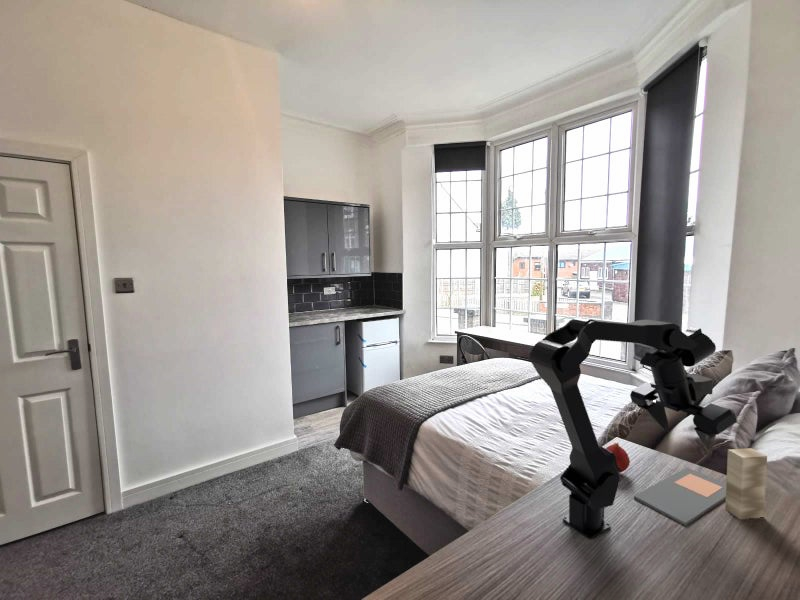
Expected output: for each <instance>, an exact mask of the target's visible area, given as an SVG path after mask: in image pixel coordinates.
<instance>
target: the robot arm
mask: <svg viewBox="0 0 800 600" xmlns="http://www.w3.org/2000/svg"><path fill="white" fill-rule="evenodd" d="M575 340H576V341H575ZM573 341H575V342H574V344H573V345H571V346H568V345H567V344H569V343H571V342H573ZM596 341H607V342H617V343H618V342H619V343H632V344H635V345H638V346H641V347H646V348H650V349H655V350H654V351H652V352H645V354H644V355H643V357H642V358H641V359H640V360H639V364H640V365H642V366H645V367H649V368H650V370H651V374H652V377H653V381H651V382H650V383H649V382H647V381H645V382H644V383H642V384H641V385H639V386H637V387H635V388H634V389H632V390H631V391H630V393H629V396H630V400H631V402H632V404H635V405H636V406H637V407H638V408H640V410H642V411H643V412H645V414H647V416H649V417H650V418H651V419H652V420H653V421H654V422H655V424H657V425H658V426H659V427H660V429H662V430H663V431H664V432H667V431H669V430H670V428H669V420H668V417H667V412H666V409H665V408H667V409H669V410H672V411H674V412H680V411H681V412H683V413H687V414H688V415H691V416H693V417H692V422H693V425H694V428H693V429H694V431H695V432H696V434H697V436H698V437H699V440H700V442H701V443H702V445H703V447H705V450H707V451H710V450H712V449H713V448H714V447H713V445H714V444H715V440H716V436H717V435H719V434H721V433H723V432H724V431H726V430H728V429H729V428H730V427H731V426H733V425H735V424H736V423H737V422H738V420H737V417H736V413H735V411H734V410H732V409H729V408H727V407H723V406H720V405H717V404H714V403H709V404H707V405H705V406H701V405H698V404H695V403H694V402H699V401H701V400H702V397H701V396H703V395H704V396H705V395H710V396H711V395H713V389H714V388H713V387H714V378H710V377H707V376H703V375H699V374H697V373H696V374H695V373H689V372H688V371H687V370H686V369H685V367H687V368H690V367H693V366H696V365H697V364H699V363H701V362H702V361H703V360H706V359H707V358H708V357H710V356H712V355H714V353H715V352H716V349H717V347H716V343H715V342H714V341H713V340H712V338H710V337H709V336H708V335H706V334H705V333H703V332H702V329H701V328H700V327H692V326H690V327H689V328H687V329H686V330H685V331H681V326H680V325H679V324H677V323H674V322H667V321H659V320H654V319H653V320H652V319H639V320H634V321H632V322H618V321H609V320H599V319H598V320H596V319H590V318H586V317H579V316H578V317H575V318H571V319H570V320H569V321H568V322H567V323H565V325H564V326H561V327H560V328H557V329H555V330H554V331H552V332H549V333H548V334H547V335H546V336H545V337H543V338H542V339H541V340H540V341H537V343H535V344H534V345H533V347H532V349H531V351H530V352H529V359H530V363H531V364H532V366H533V368H534V369H535V371H536V373H537V374H538V375H539V377H540V378H541V379H542V380H543V381H544V383H545V384H546V385H547V386H548V388H549V389H550V391H551V393H552V396H553V399H554V401H555V405H556V408H557V409H558V412H559V415H560V417H561V420H562V423H563V426H564V429H565V431H566V434H567V437H568V439H569V442H570V444H571V451H570V454H569V462H570V464H569V465H568V466H567V468H566V469H565V470H564V471H563V473H562V474H561V475H560V477H559V478H560V479H559V480H560V482H561V485H562V486H563V487H564V488H566V489H567V490H569V492H570V494H569V497H568V502H569V503H568V507H569V508H568V514H565V515H564V516H562V521H563V522H565V523H566V524H568V526H570V527H572V528H573V529H575V530H576V531H577V532H579V533H580V534H582V535H583V536H584V537H586V538H587V539H590V540H591V539H594V538H596V537H597V536H599V535H601V534H603V533H604V532H606V531H608V530H609V529H611V528H612V524H610V523H609V522H608V521H606V520H604V519H605V508H607V507H611V506H613V504H614V501H615V498H616V495H617V492H618V489H619V485H620V481H621V480H620V479H621V476H620V473H621V472H620V471H621V470H620V468H619V467H618V465H617V461H616V457H615V455H614V453H612V452H611V451H609V450H607V449H606V447H603V446H602V445H601V444H599V441H598V440H597V436H596V434H595V431H594V427H593V426H592V422H591V419H590V415H589V414H588V411H587V408H586V406H585V403H584V400H583V396H582V394H581V391H580V388H579V385H578V384H579V379H580V377H581V374H582V371H581V370H582V369H581V364H582V363H583V362H584V361H585V360H586V359H587V358H588V357H589V355H590V352H591V348H592V345H593V344H594V343H595V342H596ZM618 472H620V473H618Z"/></svg>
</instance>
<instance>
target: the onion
mask: <svg viewBox="0 0 800 600" xmlns="http://www.w3.org/2000/svg"><path fill="white" fill-rule="evenodd" d="M605 449H607V450H609V451H611V452H612V453H614V455H615V457H616V461H617V465H618V467H619V468H620V470H621V471H620V472H618V473H619V474H620V473H622V472H625V471H626V470H627V469H628V468H629V467H630V465H631V463H630V461H631V460H630V456H629V455H628V453H627V452H626V450H625V449H624V448H623V447H622V446H620V444H619V443H618V442H614V443H613V444H610V445H609V446H607V447H605Z"/></svg>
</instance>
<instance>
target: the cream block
mask: <svg viewBox="0 0 800 600" xmlns="http://www.w3.org/2000/svg"><path fill="white" fill-rule="evenodd" d="M726 462H727V465H726V482H725V483H726V499H725V510H726V511H728V512H729V513H730V514H732V515H733V516H734V517H736V518H738V520H749V518H754V519H761V518H760V517H764V518H765V508H766V507H765V506H766V503H765V502H766V489H767V488H766V486H767V469H768V455H766V454H764V453H762V452H759V451H757V450H756V449H754V448H752V447H749V448H748V447H747V448H732V449H727V461H726Z"/></svg>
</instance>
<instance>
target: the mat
mask: <svg viewBox="0 0 800 600" xmlns="http://www.w3.org/2000/svg"><path fill="white" fill-rule="evenodd" d="M726 483H727V482H724V481H721V480H719V479H717V478H714V477H712V476H709V475H706V474H704V473H702V472H699V471H697V470H694V469H692V468H690V467H684V468H683V469H681V470H680V471H677V472H676V473H674V474H672V475H670V476H668V477H667V478H665V479H663V480H660V481H659V482H657V483H655V484H654V485H652V486H649V487H648V488H646V489H644V490H643V491H640V492H638V493H637V494H635V495H634V496H633V499H635V500H636V501H638V502H640V503H642V504H643V505H646V507H647V506H648V507H650V508H651V509H653V510H655V511H657V512H659V513H661V514H662V515H664V516H666V517H668V518H669V519H671V520H674V521H676V522H678V523H679V524H681V525H683V526H688V525H689V524H690V523H692V522H693V521H695V520H697V519H698V518H700V516H702V515H704V514H706V513H707V512H708V511H710V510H711V509H713V508H714V507H716V506H718V505H719V504H720V503H722V502H723V501H724V500H725V501H726Z"/></svg>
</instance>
